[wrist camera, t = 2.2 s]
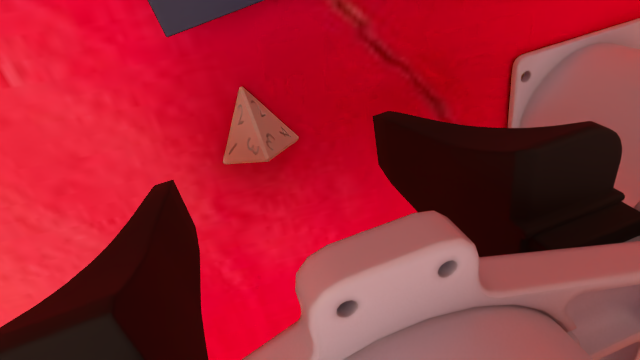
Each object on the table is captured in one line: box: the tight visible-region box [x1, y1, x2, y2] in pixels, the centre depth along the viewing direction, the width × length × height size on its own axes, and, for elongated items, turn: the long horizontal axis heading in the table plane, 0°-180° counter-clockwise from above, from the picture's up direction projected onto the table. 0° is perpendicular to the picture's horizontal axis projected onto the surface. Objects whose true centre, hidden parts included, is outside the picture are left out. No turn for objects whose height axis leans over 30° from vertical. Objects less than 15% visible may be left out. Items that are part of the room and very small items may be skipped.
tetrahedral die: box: [223, 87, 299, 164], centre depth 16 cm, size 3×3×3 cm
